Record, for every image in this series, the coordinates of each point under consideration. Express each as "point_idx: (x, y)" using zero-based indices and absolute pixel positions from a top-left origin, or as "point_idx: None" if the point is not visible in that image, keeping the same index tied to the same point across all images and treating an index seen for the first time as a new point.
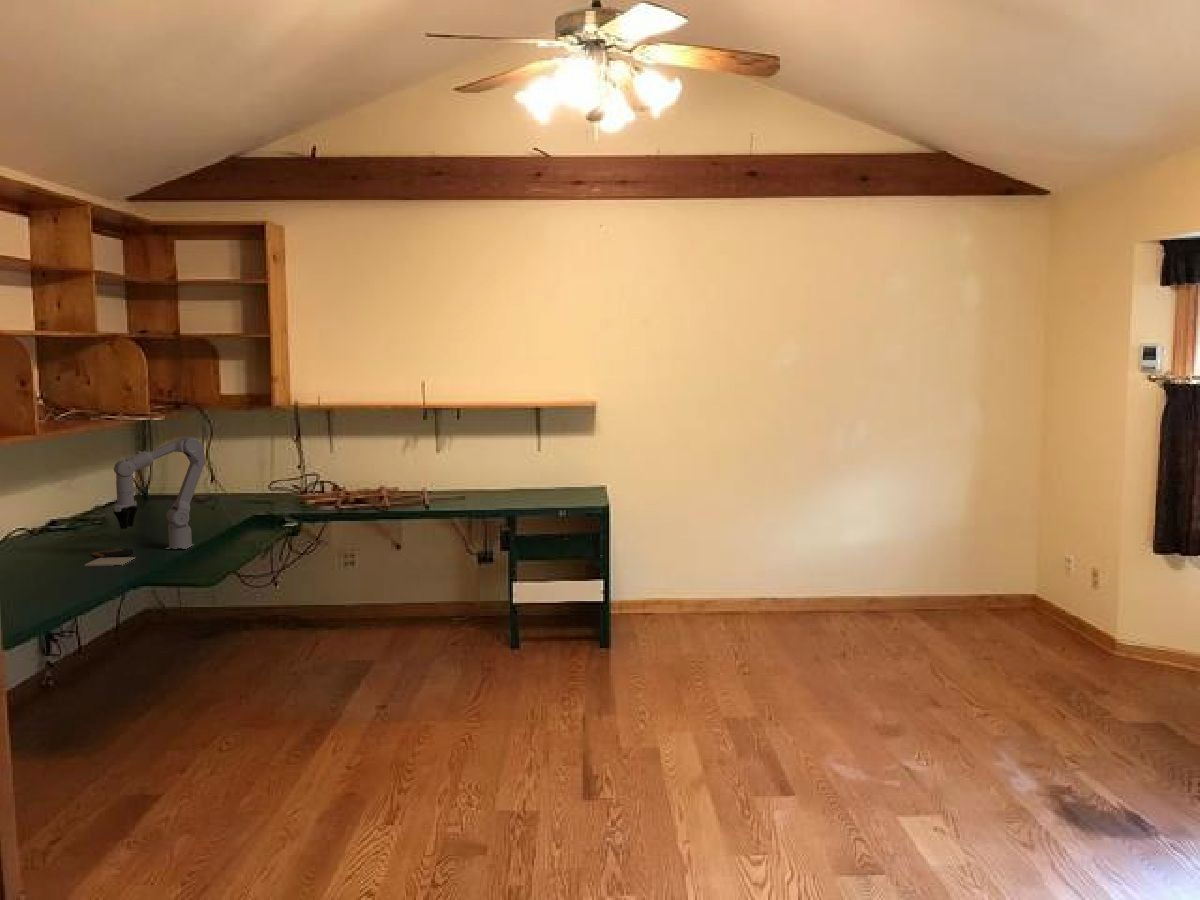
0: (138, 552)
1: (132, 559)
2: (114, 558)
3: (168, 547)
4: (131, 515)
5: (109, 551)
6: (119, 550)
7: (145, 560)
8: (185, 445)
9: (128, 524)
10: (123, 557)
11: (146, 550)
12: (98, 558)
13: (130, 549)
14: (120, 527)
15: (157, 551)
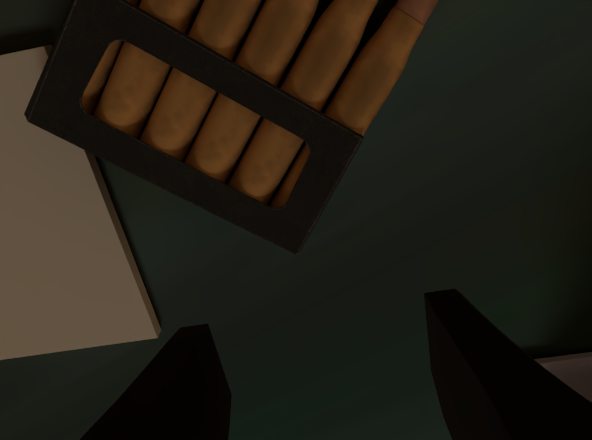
0: (412, 209)
1: (100, 342)
2: (60, 209)
3: (561, 367)
4: None
5: (175, 66)
6: (274, 123)
7: None
8: None
9: (434, 348)
10: (120, 257)
11: (506, 227)
12: (3, 58)
13: (276, 244)
14: (167, 343)
15: None
